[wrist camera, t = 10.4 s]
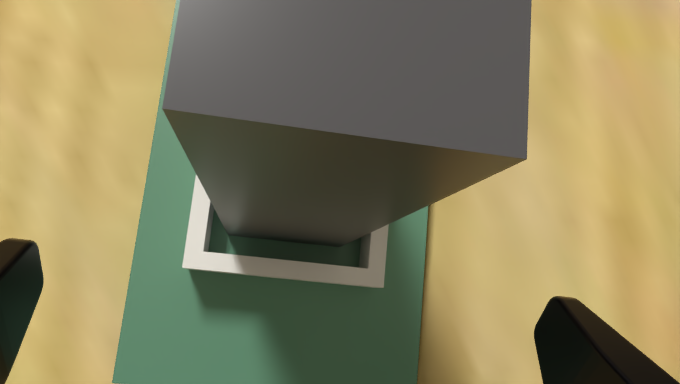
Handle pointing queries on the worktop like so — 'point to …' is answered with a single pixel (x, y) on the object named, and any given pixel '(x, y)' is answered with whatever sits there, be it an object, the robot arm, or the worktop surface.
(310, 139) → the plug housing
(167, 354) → the board
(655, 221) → the worktop surface
